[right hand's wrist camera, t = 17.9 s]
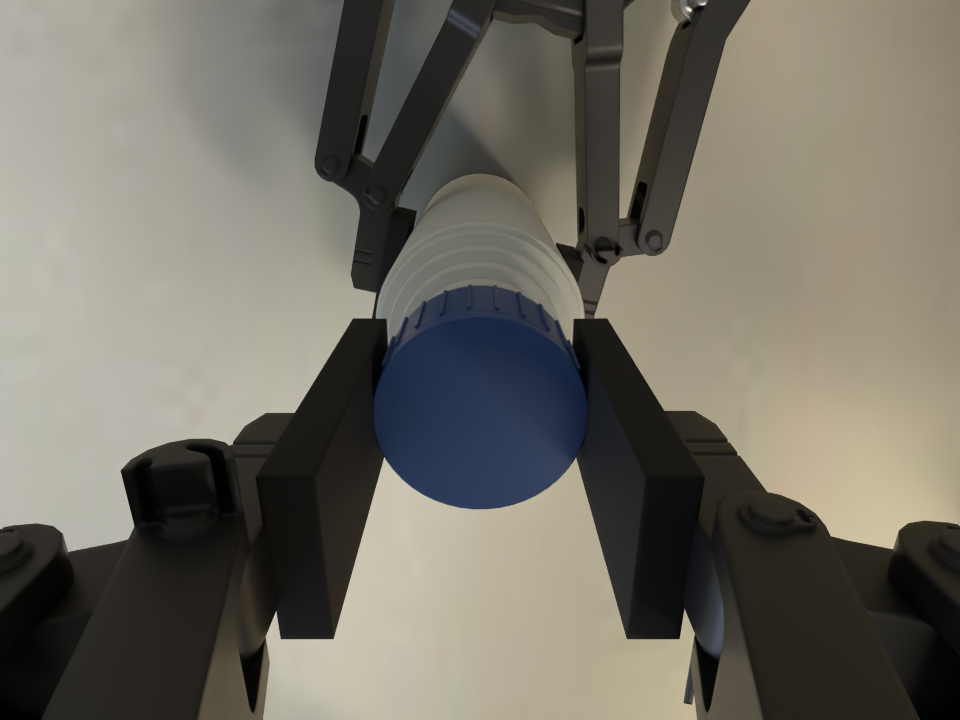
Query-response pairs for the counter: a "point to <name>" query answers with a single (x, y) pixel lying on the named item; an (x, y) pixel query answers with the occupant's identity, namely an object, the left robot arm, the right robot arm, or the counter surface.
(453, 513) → the counter surface
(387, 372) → the cap
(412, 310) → the bottle
